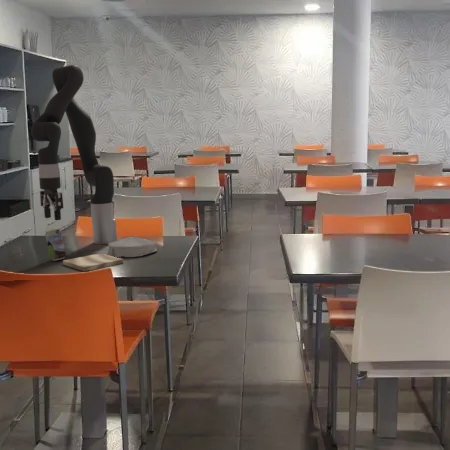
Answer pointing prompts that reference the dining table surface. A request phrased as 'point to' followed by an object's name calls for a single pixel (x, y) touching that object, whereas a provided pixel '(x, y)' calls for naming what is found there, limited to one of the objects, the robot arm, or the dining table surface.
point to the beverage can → (55, 244)
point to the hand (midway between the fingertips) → (52, 218)
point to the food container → (131, 247)
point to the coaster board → (92, 262)
